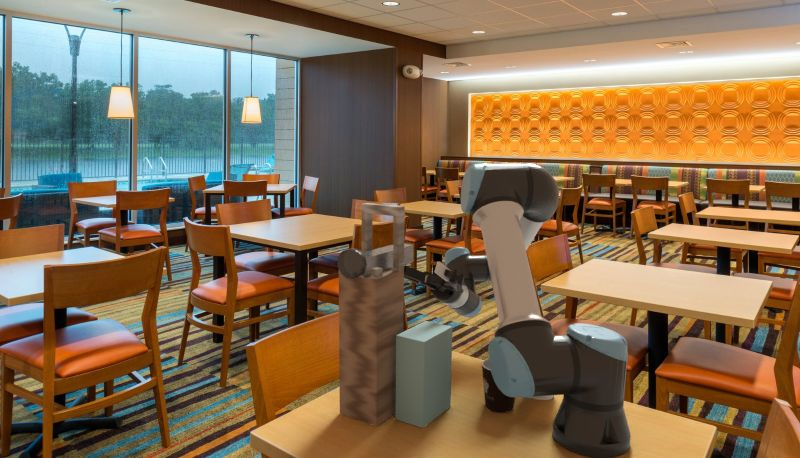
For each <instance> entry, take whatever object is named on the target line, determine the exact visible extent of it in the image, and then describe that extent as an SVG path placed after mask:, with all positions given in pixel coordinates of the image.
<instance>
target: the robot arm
mask: <svg viewBox="0 0 800 458" xmlns="http://www.w3.org/2000/svg"><path fill="white" fill-rule="evenodd" d="M559 201H560V191H559V187H558V184H557V182H556V180H555V178H554V176H553V175H552V174H551V173H550V172H549V171H548V170H547V169H546V168H544V167H542V166H540V165H538V164H535V163H529V162H528V163H527V162H523V163H488V162H484V163H472V164H470V165H469V166H468V167H467V168H466V170H465V173H464V175H463V178H462V184H461V190H460V208H461V212H463V214H466V215H471V218H472V223H473V224H474V226H476V227H478V228H479V229H480V231H481V235H482V240H483V244H484V249H485V254H480V255H479V254H478V255H477V254H473V255H471V252H470V251H469V249H468V248H467V247H462V246H457V247H452V248H450V249H448V250H447V251H446V252H445V253H444V263H442V262H441V261H436V265H435V268H434V273H432V272H429V271H421V270H418V269H416V268H413V267H411V266H408V265H407V264H405V265H404V280H408V281H410V282H412V283H414V284H415V285H418V286H422V285H423V286H425V287H427V288H429V289H430V290H431V294H432V296H433V297H434V298H435V299H436V300H438V301H439V302H441V303H442V304H444V305H445V306H447V308H448V309H449V310H453V311H454V312H456V313H457V314H458V315H460V316H462V317H464V318H469V319H470V318H474V317H476V316H477V315H479V313H480V312H481V311H482V308H483V300H482V298H481V297H480V295H479V294H478V293H477V290H476V285H475V282H487V281H488V282H489V281H490V282H491V286H492V292H493V296H494V301H495V306H496V312H497V317H498V321H499V325H498V326H497V328H496V329H495V330H494V333H493V334H494V337H492V339H491V340H490V341H489V344H488V348H487V350H488V351H487V354H488V359H489V365H490V370H491V373H492V376H493V379H494V381H495V383H496V385H497V387H498V388H499V389H500V390H501V392H502V393H503V394H505V395H506V396H508V397H515V398H524V399H532V398H531V397H536V396H550V395H554V396H560V395H563V398H562V400H561V403H560V405H559V407H558V409H557V411H556V414H555V417H554V419H553V421H552V436H553V438H554V440H555V441H556V442H557V443H558V444H559V445H560V446H562V447H564V448H565V449H567V450H568V451H571V452H573V453H576V454H579V455H583V456H587V457H592V458H614V457H618V456H622V455H623V454H625V453H626V452H628V451H629V450H630V447H631V437H632V435H631V431H630V427H629V424H628V420H627V415H626V413H625V412H626V411H625V409H624V405H625V404H624V402H625V392H626V391H625V390H626V389H625V388H626V376H627V366H628V364H627V363H628V361H629V358H628V357H629V355H628V352H629V351H628V342H627V340H626V338H625V337H623V336H622V334H620V333H618V332H617V331H614V330H612V329H609V328H607V327H603V326H601V325H595V324H591V323H590V324H589V323H584V322H583V323H581V322H580V323H577V322H576V323H572V324H569V325H568V326H567V328H566V331H565V332H566V333H563V334H554V330H553V326H552V323H551V321H549V320H547V319H546V318H544V317H543V316H542V314H541V313H542V312H541V309H540V305H539V301H538V296H537V291H536V287H535V284H534V280H533V275H532V270H531V266H530V263H529V258H528V255H527V254H528V253H527V251H528V249H529V247H530V245H532V242H533V241H534V239H535V237H536V235H537V234H538V232H539V230H540V229H541V228H542V226H543V224H544V223H546V222H548V221H549V220H551V219H552V217H553V216H554V214H555V212H556V211H557V209H558V207H559V203H560V202H559Z"/></svg>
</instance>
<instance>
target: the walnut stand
mask: <svg viewBox="0 0 800 458" xmlns="http://www.w3.org/2000/svg"><path fill="white" fill-rule="evenodd" d="M405 207H406V206H404V205H396V204H383V203H375V202H374V203H372V202H364V203H361V252H362V253H363V252H367V251H370V250H373V215H379V216H380V215H381V216H389V217H390V216H391V217H393V218H392V219H393V226H392V227H393V231H392V233H393V234H392V237H393V238H392V239H393V240H392V243H393V244H392V245H393V268H392V269H389V270H386V271H383V268H379V267H375V268H372V269H371V276H368V277H365V278H362V277H356V278H353V279H348V278H346V277H344V276H343V275H342V274H341V273H340V271H339V270H338V323H339V324H338V331H339V332H338V333H339V335H338V338H339V339H338V341H339V342H338V344H339V345H338V347H339V348H338V352H339V353H338V355H339V356H338V358H339V359H338V361H339V363H338V365H339V366H338V367H339V369H338V370H339V372H338V373H339V415H343V416H346V417H347V418H348V417H349V418H351V419H355V420H357V421H360V422H363V423H366V424H369V425H371V426H375V427H377V426H380V424H382V423H384V422H385V421H387V419H389V418H391V417H392V416H395V414H396V335H398V334H400V333H402V332H404V305H405V304H404V299H405V297H404V294H405V292H404V289H405V287H404V286H405V278H404V244H405V216H406V215H405V212H406V211H405V209H406V208H405Z"/></svg>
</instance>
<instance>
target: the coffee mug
mask: <svg viewBox="0 0 800 458" xmlns="http://www.w3.org/2000/svg"><path fill="white" fill-rule="evenodd" d="M481 371H482V383H483V394H484V395H483V396H484V406H485V408H486V410H487V409H488V410H489V411H491V412H494V413H498V414H499V413H500V414H501V413H502V414H505V413H510V412H511V411H513V410H514V407H515V401H516V397H508V396H506V395H505V394H503V393H502V392H501V390H500V389H499V388H498V387H497V385H496V383H495V381H494V379H493V376H492V373H491V370H490V365H489V358H486V359H484V360H483V361H482V362H481Z"/></svg>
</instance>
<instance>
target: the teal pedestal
mask: <svg viewBox="0 0 800 458" xmlns="http://www.w3.org/2000/svg"><path fill="white" fill-rule="evenodd" d="M452 355H453V326H452V325H447V324H442V323H438V322H433V321H427V320H425V321H422V322H420V323H418V324H416V325H414V326H413V327H410V328H409V329H406V330H405V331H404V330H403V332H402V333H400V334H398V335H396V413H395V414H394V416H395V420H398V421H400V422H404V423H407V424H409V425H413V426H416V427H419V428H422V429H424V428H425V427H427V425H429V424H430V423H432V422H433V421H434V420H435V419H436V418H437V417H439V416H441V415H442V414H443V413H444V412H445V411H447V410H449V408H451V405H452V404H451V403H452V402H451V400H452V397H451V396H452V395H451V394H452V360H453V359H452V358H453V356H452Z"/></svg>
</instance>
